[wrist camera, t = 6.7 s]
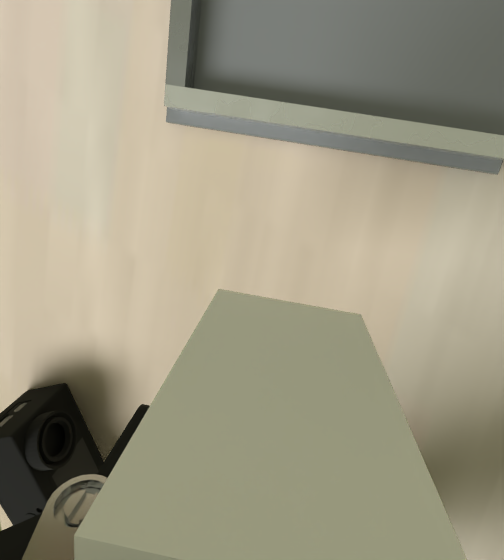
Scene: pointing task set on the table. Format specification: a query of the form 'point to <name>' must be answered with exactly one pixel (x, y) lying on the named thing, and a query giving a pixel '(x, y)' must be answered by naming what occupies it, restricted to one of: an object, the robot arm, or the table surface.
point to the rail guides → (300, 116)
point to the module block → (271, 450)
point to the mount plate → (358, 67)
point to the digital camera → (42, 449)
